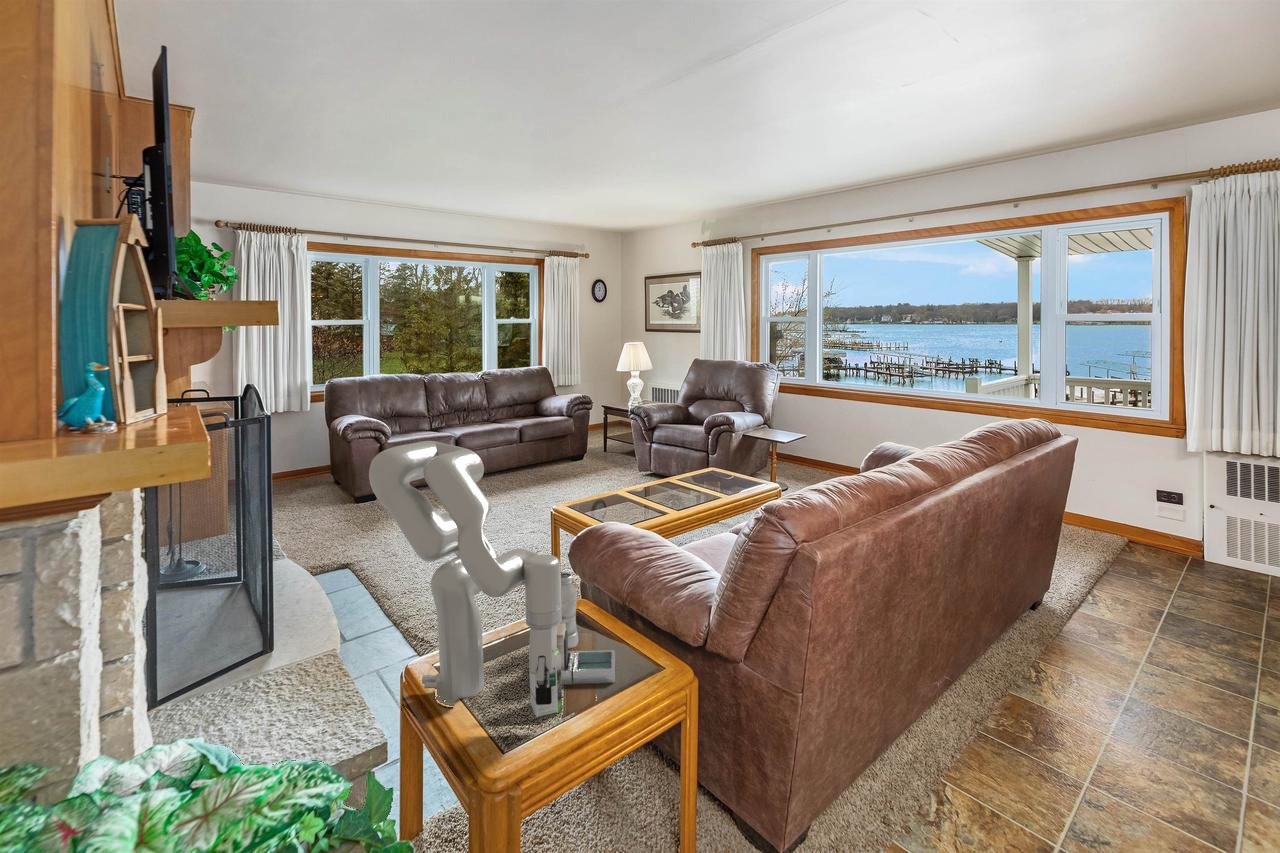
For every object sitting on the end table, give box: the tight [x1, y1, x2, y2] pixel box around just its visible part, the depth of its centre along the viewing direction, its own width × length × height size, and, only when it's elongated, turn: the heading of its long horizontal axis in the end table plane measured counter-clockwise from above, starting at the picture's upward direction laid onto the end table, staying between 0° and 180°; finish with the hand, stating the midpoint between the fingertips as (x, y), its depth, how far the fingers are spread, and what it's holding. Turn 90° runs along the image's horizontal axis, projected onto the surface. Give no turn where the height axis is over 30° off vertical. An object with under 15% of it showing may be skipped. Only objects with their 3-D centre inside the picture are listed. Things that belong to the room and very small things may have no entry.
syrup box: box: [529, 647, 563, 718], centre depth 131 cm, size 6×6×14 cm
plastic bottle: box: [559, 572, 579, 650], centre depth 160 cm, size 6×7×20 cm
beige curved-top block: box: [557, 623, 569, 670], centre depth 145 cm, size 6×6×11 cm
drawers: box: [528, 649, 617, 686], centre depth 146 cm, size 20×10×4 cm, turn 92°
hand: (545, 692), depth 131 cm, fingers closed on syrup box, 7 cm apart
